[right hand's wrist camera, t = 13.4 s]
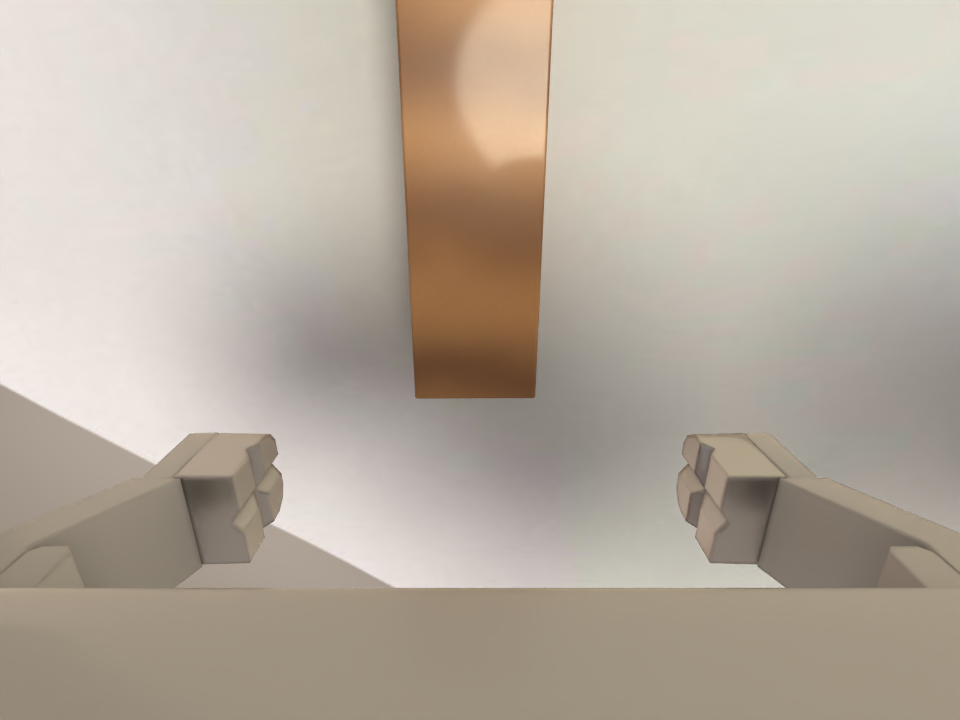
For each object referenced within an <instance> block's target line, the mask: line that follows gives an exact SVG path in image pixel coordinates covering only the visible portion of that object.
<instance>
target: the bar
mask: <svg viewBox="0 0 960 720" xmlns="http://www.w3.org/2000/svg"><path fill="white" fill-rule="evenodd" d="M396 18H397V38H398V58H399V79H400V99H401V119H402V139H403V160H404V180H405V200H406V220H407V241H408V261H409V281H410V301H411V321H412V342H413V362H414V382H415V397H416V398H534V397H535V388H536V366H537V344H538V323H539V301H540V279H541V258H542V236H543V214H544V193H545V171H546V149H547V127H548V106H549V84H550V62H551V41H552V19H553V0H396Z"/></svg>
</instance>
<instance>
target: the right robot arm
mask: <svg viewBox="0 0 960 720" xmlns="http://www.w3.org/2000/svg"><path fill="white" fill-rule="evenodd" d="M277 455H278V451H277V446H276V441H275V439H274V438H273V436H272V435H271V434H237V433H220V434H219V433H194V434H189V435H188V436H187V437H186V438H185V439H184V440H183V441H181V442H180V443H179V444H178V445H177V446H176V447H175V448H174V449H173V450H172V451H171V452H170V453H169V454H167V455H166V456H165V457H164V458H163V459H162V460H161V461H160V462H159V463H158V464H157V465H156V466H155V467H153V468H152V469H151V470H150V471H149V472H148V473H147V474H146V475H145V476H144V477H143V478H133V479H130V480H128V481H125V482H123V483H120V484H118V485H116V486H113V487H111V488H108V489H106V490H104V491H101V492H99V493H96V494H94V495H91V496H89V497H87V498H84V499H82V500H79V501H77V502H75V503H72V504H70V505H67V506H65V507H62V508H60V509H58V510H55V511H53V512H50V513H48V514H46V515H43V516H41V517H38V518H36V519H33V520H31V521H28V522H26V523H24V524H21V525H19V526H16V527H14V528H12V529H9V530H7V531H4V532H2V533H0V720H960V533H958V532H955V531H953V530H951V529H948V528H946V527H943V526H941V525H939V524H936V523H934V522H931V521H929V520H926V519H924V518H922V517H919V516H917V515H914V514H912V513H910V512H907V511H905V510H902V509H900V508H897V507H895V506H893V505H890V504H888V503H885V502H883V501H881V500H878V499H876V498H873V497H871V496H868V495H866V494H864V493H861V492H859V491H856V490H854V489H852V488H849V487H847V486H844V485H842V484H839V483H837V482H835V481H832V480H830V479H827V478H817V477H816V476H815V475H814V474H813V473H812V472H811V471H810V470H809V469H808V468H807V467H806V466H805V465H803V464H802V463H801V462H800V461H799V460H798V459H797V458H796V457H795V456H794V455H793V454H792V453H791V452H789V451H788V450H787V449H786V448H785V447H784V446H783V445H782V444H781V443H780V442H779V441H778V440H777V439H775V438H774V437H773V436H772V435H771V434H768V433H731V434H693V435H687V437H686V439H685V442H684V445H683V451H682V455H683V457H684V458H685V460H686V461H687V463H688V464H687V465H686V466H685V467H684V468H683V469H682V471H681V472H680V473H679V474H678V482H677V497H678V504H679V507H680V510H681V513H682V515H683V517H684V518H685V520H686V521H687V522H688V523H690V524H691V525H693V526H695V527H696V528H697V530H696V536H695V538H696V539H697V541H698V543H699V545H700V546H701V548H702V550H703V552H704V553H705V555H706V557H707V558H708V560H709V562H710V563H729V564H758V567H759V568H760V569H762V570H763V571H764V572H766V573H767V574H768V575H770V576H771V577H772V578H774V579H775V580H776V581H778V582H779V583H780V584H782V585H783V586H784V587H786V588H175V587H176V586H177V585H179V584H180V583H181V582H183V581H184V580H185V579H186V578H188V577H189V576H190V575H192V574H193V573H194V572H196V571H197V570H198V569H200V568H201V567H202V564H229V563H250V562H251V560H252V558H253V557H254V555H255V553H256V552H257V550H258V548H259V546H260V545H261V543H262V541H263V539H264V538H265V536H264V530H263V528H264V527H265V526H267V525H269V524H270V523H272V522H273V521H274V520H275V518H276V516H277V515H278V513H279V511H280V507H281V503H282V498H283V481H282V474H281V473H280V472H279V471H278V469H277V468H276V467H275V466H274V465H273V464H272V463H273V461H274V460H275V458H276V457H277Z"/></svg>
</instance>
